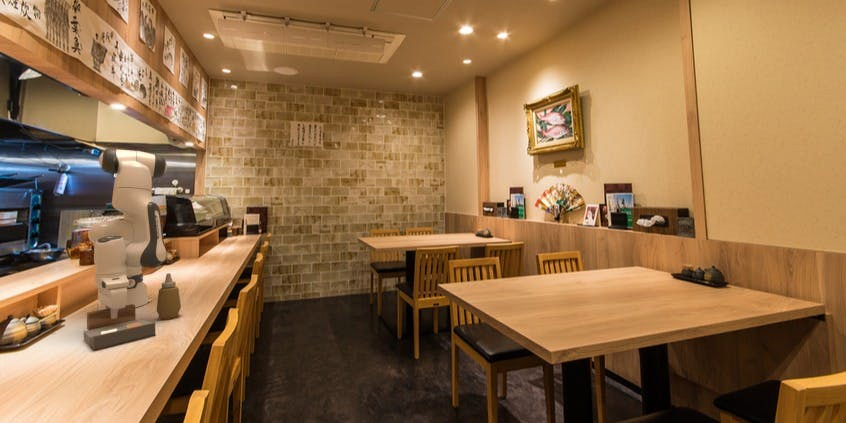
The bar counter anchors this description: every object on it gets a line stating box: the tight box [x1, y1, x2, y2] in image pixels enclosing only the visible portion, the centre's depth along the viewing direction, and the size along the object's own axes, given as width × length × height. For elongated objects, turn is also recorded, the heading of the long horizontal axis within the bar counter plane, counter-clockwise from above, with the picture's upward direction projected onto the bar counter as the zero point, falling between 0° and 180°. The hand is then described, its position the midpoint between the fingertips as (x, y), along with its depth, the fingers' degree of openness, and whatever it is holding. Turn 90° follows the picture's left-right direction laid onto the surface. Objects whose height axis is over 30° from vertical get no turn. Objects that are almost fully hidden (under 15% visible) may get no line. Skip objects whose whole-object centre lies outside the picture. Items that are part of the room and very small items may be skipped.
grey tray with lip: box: [83, 318, 156, 352], centre depth 120 cm, size 14×16×4 cm
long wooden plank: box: [86, 304, 136, 331], centre depth 129 cm, size 3×13×6 cm, turn 145°
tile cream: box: [100, 329, 117, 335], centre depth 116 cm, size 4×4×2 cm
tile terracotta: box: [125, 322, 141, 329], centre depth 121 cm, size 4×4×2 cm
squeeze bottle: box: [156, 273, 182, 320], centre depth 142 cm, size 8×8×18 cm
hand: (111, 317), depth 129 cm, fingers closed on long wooden plank, 3 cm apart
